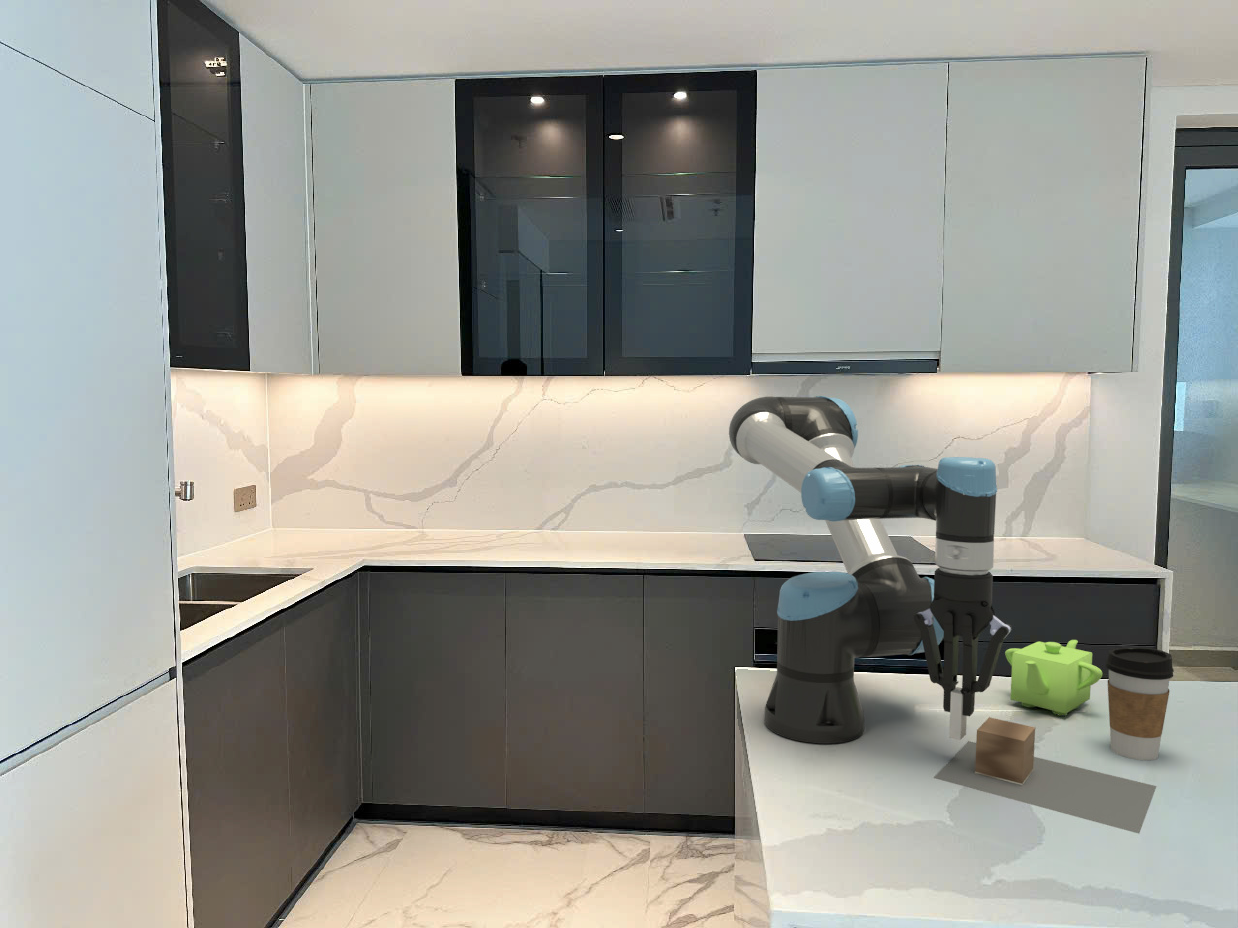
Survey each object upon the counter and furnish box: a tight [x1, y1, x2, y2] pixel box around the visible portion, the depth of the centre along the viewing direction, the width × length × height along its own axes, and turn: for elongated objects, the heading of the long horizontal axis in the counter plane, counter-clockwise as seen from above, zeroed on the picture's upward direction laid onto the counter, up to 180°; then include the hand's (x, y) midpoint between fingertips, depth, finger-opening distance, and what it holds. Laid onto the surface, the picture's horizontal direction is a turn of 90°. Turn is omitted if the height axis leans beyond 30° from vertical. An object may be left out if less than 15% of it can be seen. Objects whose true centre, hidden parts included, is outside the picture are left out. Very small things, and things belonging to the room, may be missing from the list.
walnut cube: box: [975, 716, 1036, 785], centre depth 120 cm, size 6×6×6 cm
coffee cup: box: [1105, 647, 1175, 761], centre depth 127 cm, size 8×8×15 cm
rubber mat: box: [933, 740, 1157, 835], centre depth 117 cm, size 24×16×1 cm, turn 53°
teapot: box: [1004, 639, 1103, 716], centre depth 147 cm, size 15×13×11 cm
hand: (957, 735), depth 124 cm, fingers closed
